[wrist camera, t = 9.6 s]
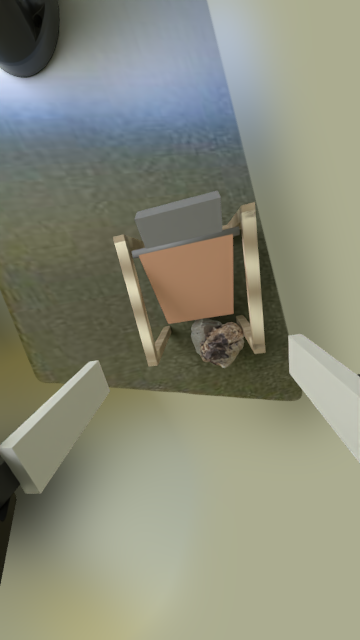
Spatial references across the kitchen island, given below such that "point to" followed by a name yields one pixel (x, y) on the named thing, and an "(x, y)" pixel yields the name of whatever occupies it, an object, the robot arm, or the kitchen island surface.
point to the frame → (250, 330)
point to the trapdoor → (188, 257)
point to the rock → (217, 341)
